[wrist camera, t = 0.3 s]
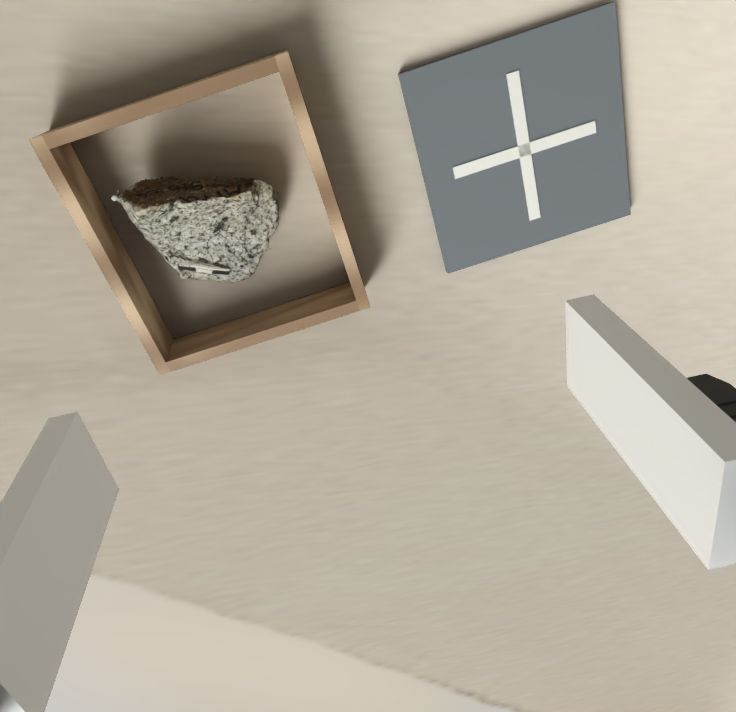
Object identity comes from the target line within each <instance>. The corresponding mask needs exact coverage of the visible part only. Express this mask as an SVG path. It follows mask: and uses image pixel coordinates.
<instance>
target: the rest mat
mask: <svg viewBox="0 0 736 712" xmlns="http://www.w3.org/2000/svg"><path fill="white" fill-rule="evenodd" d="M398 76H399V80H400V84H401V88H402V92H403V96H404V100H405V104H406V108H407V112H408V117H409V121H410V125H411V129H412V133H413V137H414V141H415V145H416V149H417V154H418V158H419V162H420V166H421V170H422V174H423V178H424V182H425V186H426V190H427V195H428V199H429V203H430V207H431V211H432V215H433V219H434V223H435V227H436V232H437V236H438V240H439V244H440V248H441V252H442V256H443V260H444V264H445V269H446V271H447V273H451V272H454V271H457V270H460V269H464V268H467V267H470V266H473V265H476V264H479V263H482V262H485V261H488V260H491V259H494V258H498V257H501V256H504V255H507V254H510V253H513V252H516V251H519V250H522V249H525V248H528V247H532V246H535V245H538V244H541V243H544V242H547V241H550V240H553V239H556V238H559V237H562V236H566V235H569V234H572V233H575V232H578V231H581V230H584V229H587V228H590V227H593V226H596V225H599V224H603V223H606V222H609V221H612V220H615V219H618V218H621V217H624V216H627V215H630V214H631V212H630V198H629V184H628V170H627V156H626V142H625V128H624V114H623V100H622V86H621V72H620V58H619V43H618V29H617V15H616V2H610V3H607V4H604V5H601V6H598V7H595V8H592V9H589V10H586V11H583V12H580V13H577V14H574V15H571V16H568V17H565V18H562V19H559V20H556V21H554V22H551V23H548V24H545V25H542V26H539V27H536V28H533V29H530V30H527V31H524V32H521V33H518V34H515V35H512V36H509V37H506V38H503V39H500V40H497V41H494V42H491V43H488V44H485V45H482V46H479V47H476V48H473V49H470V50H467V51H464V52H461V53H458V54H455V55H452V56H449V57H446V58H443V59H441V60H438V61H435V62H432V63H429V64H426V65H423V66H420V67H417V68H414V69H411V70H408V71H405V72H402V73H399V74H398Z"/></svg>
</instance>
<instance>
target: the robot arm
mask: <svg viewBox="0 0 736 712" xmlns="http://www.w3.org/2000/svg"><path fill="white" fill-rule="evenodd" d="M566 351H567V387H568V388H569V389H570V390H571V392H572V393H573V394H574V396H575V397H576V398H577V400H578V401H579V402H580V403H581V405H582V406H583V407H584V409H585V410H586V411H587V413H588V414H589V415H590V416H591V418H592V419H593V420H594V422H595V423H596V424H597V426H598V427H599V428H600V429H601V431H602V432H603V433H604V435H605V436H606V437H607V439H608V440H609V441H610V442H611V444H612V445H613V446H614V448H615V449H616V450H617V452H618V453H619V454H620V455H621V457H622V458H623V459H624V461H625V462H626V463H627V465H628V466H629V467H630V468H631V470H632V471H633V472H634V474H635V475H636V476H637V478H638V479H639V480H640V481H641V483H642V484H643V485H644V487H645V488H646V489H647V491H648V492H649V493H650V494H651V496H652V497H653V498H654V500H655V501H656V502H657V504H658V505H659V506H660V507H661V509H662V510H663V511H664V513H665V514H666V515H667V517H668V518H669V519H670V520H671V522H672V523H673V524H674V526H675V527H676V528H677V530H678V531H679V532H680V533H681V535H682V536H683V537H684V539H685V540H686V541H687V543H688V544H689V545H690V546H691V548H692V549H693V550H694V552H695V553H696V554H697V556H698V557H699V558H700V559H701V561H702V562H703V563H704V565H705V566H706V567H707V569H708V570H710V569H714V568H719V567H723V566H727V565H731V564H735V563H736V389H735V388H734V387H733V386H732V385H731V384H729V383H727V382H724V381H722V380H720V379H717V378H715V377H713V376H710V375H708V374H702V375H698V376H694V377H689V378H686V377H685V376H684V375H682V374H681V373H680V372H679V371H678V370H677V369H676V368H675V367H674V366H672V365H671V364H670V363H669V362H668V361H667V360H666V359H665V358H664V357H662V356H661V355H660V354H659V353H658V352H657V351H656V350H655V349H654V348H652V347H651V346H650V345H649V344H648V343H647V342H646V341H645V340H644V339H642V338H641V337H640V336H639V335H638V334H637V333H636V332H635V331H634V330H632V329H631V328H630V327H629V326H628V325H627V324H626V323H625V322H624V321H622V320H621V319H620V318H619V317H618V316H617V315H616V314H615V313H614V312H612V311H611V310H610V309H609V308H608V307H607V306H606V305H605V304H604V303H602V302H601V301H600V300H599V299H598V298H597V297H596V296H595V295H589V296H585V297H581V298H576V299H572V300H567V301H566ZM118 491H119V488H118V486H117V485H116V483H115V481H114V479H113V477H112V475H111V473H110V471H109V470H108V468H107V466H106V464H105V462H104V460H103V458H102V457H101V455H100V453H99V451H98V449H97V447H96V445H95V443H94V442H93V440H92V438H91V436H90V434H89V432H88V430H87V429H86V427H85V425H84V423H83V421H82V419H81V417H80V415H79V414H78V412H75V413H71V414H66V415H62V416H57V417H53V418H49V419H48V421H47V422H46V424H45V426H44V428H43V429H42V431H41V433H40V435H39V436H38V438H37V440H36V442H35V444H34V445H33V447H32V449H31V451H30V452H29V454H28V456H27V458H26V459H25V461H24V463H23V465H22V466H21V468H20V470H19V472H18V474H17V475H16V477H15V479H14V481H13V482H12V484H11V486H10V488H9V489H8V491H7V493H6V495H5V496H4V498H3V500H2V502H1V504H0V712H44V711H45V708H46V705H47V702H48V699H49V696H50V693H51V690H52V688H53V684H54V681H55V678H56V675H57V673H58V669H59V666H60V664H61V660H62V658H63V655H64V652H65V649H66V646H67V643H68V640H69V637H70V634H71V631H72V628H73V625H74V622H75V619H76V616H77V613H78V610H79V607H80V604H81V601H82V598H83V595H84V592H85V589H86V586H87V583H88V580H89V577H90V574H91V571H92V568H93V565H94V562H95V559H96V556H97V553H98V550H99V547H100V544H101V541H102V538H103V535H104V532H105V529H106V526H107V523H108V520H109V518H110V515H111V512H112V509H113V506H114V503H115V500H116V497H117V494H118Z"/></svg>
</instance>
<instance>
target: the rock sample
mask: <svg viewBox="0 0 736 712" xmlns="http://www.w3.org/2000/svg"><path fill="white" fill-rule="evenodd" d="M117 191H118V190H117ZM118 192H119V191H118ZM116 194H117V193H116ZM111 199H112V200H113V201H117V200H118V202H119V203H120V204H121V205H122V206H123V208H124V209H125V210H126V212H127V214H128V217H129V219H130V220H131V221H132V222H133V224H135V225H136V227H137V229H138V230H139V231H140V232H142V233H143V235H144V238H145V239H146V240H147V241H149V242H150V243H151V244H152V245H153V246H154V248H155V249H156V250H157V251H159V252H160V253H161V255H162V256H163V258H164V259H165V260H166V262H167V263H168V264H169V265H170V266H172V267H173V268H174V269H176V271H177V273H178V275H179V276H180V277H181V278H182V279H187V278H189V279H198V280H199V279H205V280H207V279H211V280H215V281H217V282H221V281H224V282H230V283H233V282H237V281H240V280H245V279H248V278H250V277H251V276H252V275H253V274H254V273H255V269H256V267H257V265H258V261H259V258H260V256H261V254H263V253H264V252H265V251H267V250H268V248H269V239H268V237H269V236H270V235H271V234H273V233H274V232H275V230H276V228H277V226H278V224H279V223H278V219H280V218H279V214H278V211H279V205H278V202H277V190H276V189H275V188H273V187H272V186H271V185H269V184H267V183H266V182H264V180H263V181H260V180H258V179H253V178H252V179H244V178H219V177H216V178H212V177H203V178H190V177H188V178H181V177H172V176H171V177H165V178H163V177H161V179H155V180H154V179H151V180H147V179H145V180H142V181H140V182H137V183H135V185H133V186H132V187H130V189H129V190H126V191H125V192H122V194H120V195H119V197H118V196H117V195H113V196H112V198H111ZM283 211H285V209H284V210H283ZM270 249H271V248H270ZM160 253H159V254H160Z"/></svg>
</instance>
